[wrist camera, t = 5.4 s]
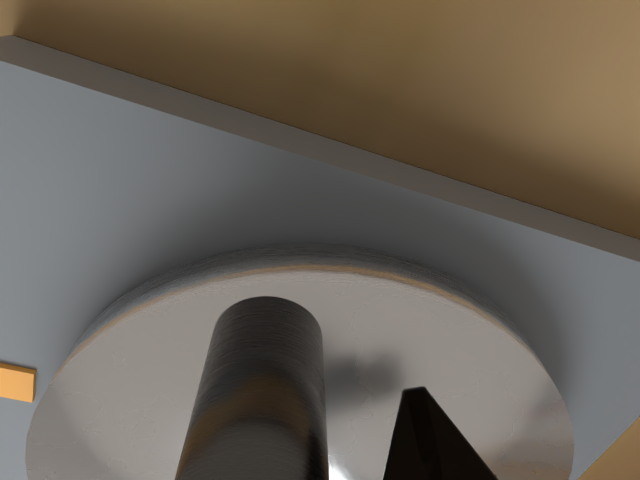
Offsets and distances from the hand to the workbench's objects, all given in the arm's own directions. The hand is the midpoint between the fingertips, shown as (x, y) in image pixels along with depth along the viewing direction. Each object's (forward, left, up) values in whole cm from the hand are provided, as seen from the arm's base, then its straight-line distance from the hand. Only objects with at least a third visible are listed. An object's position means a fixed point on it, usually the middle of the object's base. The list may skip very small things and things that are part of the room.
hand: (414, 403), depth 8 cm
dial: (0, +7, -4) cm, 8 cm away
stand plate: (0, +7, -6) cm, 9 cm away
